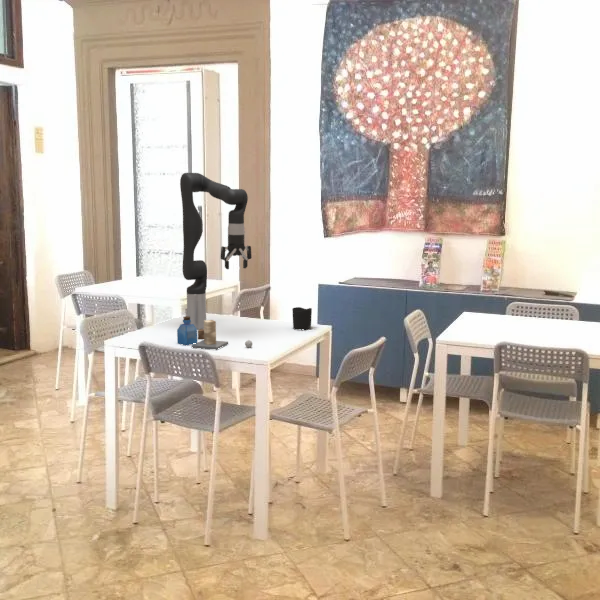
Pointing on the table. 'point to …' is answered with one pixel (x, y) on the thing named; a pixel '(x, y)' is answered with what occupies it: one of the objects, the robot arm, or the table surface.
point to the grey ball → (248, 343)
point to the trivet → (212, 346)
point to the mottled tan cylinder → (209, 332)
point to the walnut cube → (201, 334)
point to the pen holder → (302, 318)
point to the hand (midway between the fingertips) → (236, 268)
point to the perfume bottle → (187, 332)
